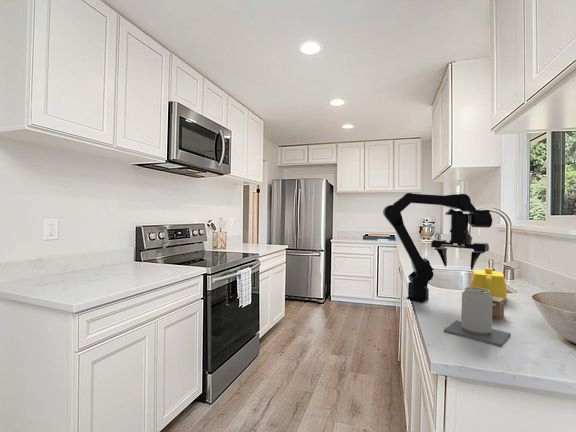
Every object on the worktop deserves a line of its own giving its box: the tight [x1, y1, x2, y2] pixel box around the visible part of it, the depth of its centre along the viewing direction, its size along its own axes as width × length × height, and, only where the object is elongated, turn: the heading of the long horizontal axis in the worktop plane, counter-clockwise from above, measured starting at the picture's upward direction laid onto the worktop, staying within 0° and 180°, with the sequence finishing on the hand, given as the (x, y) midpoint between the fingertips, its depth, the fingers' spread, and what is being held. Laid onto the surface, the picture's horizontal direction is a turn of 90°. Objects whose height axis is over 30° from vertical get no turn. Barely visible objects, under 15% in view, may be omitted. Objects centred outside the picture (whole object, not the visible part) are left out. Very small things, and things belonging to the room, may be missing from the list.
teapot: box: [470, 267, 507, 303], centre depth 130 cm, size 20×12×12 cm, turn 149°
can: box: [460, 286, 493, 335], centre depth 91 cm, size 8×8×12 cm
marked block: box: [492, 296, 505, 321], centre depth 106 cm, size 6×6×6 cm
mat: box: [443, 319, 511, 348], centre depth 91 cm, size 14×11×1 cm
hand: (458, 268), depth 122 cm, fingers open, 9 cm apart
